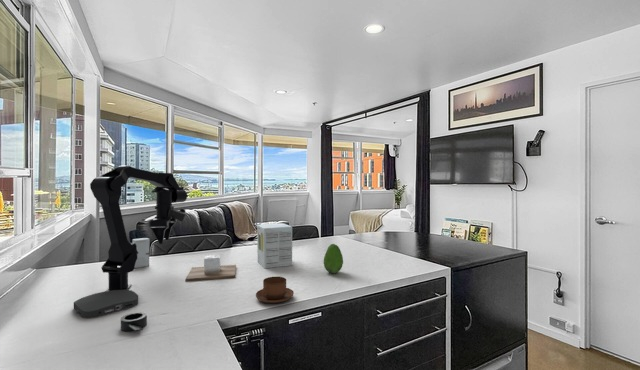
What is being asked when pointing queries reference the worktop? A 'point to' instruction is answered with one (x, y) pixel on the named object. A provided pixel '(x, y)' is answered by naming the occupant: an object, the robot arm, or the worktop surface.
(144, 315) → the duct tape
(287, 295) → the cup and saucer
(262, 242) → the supplement box
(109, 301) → the media streaming box
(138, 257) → the skincare box
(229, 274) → the post stand
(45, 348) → the worktop surface
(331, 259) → the avocado
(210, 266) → the white cube
